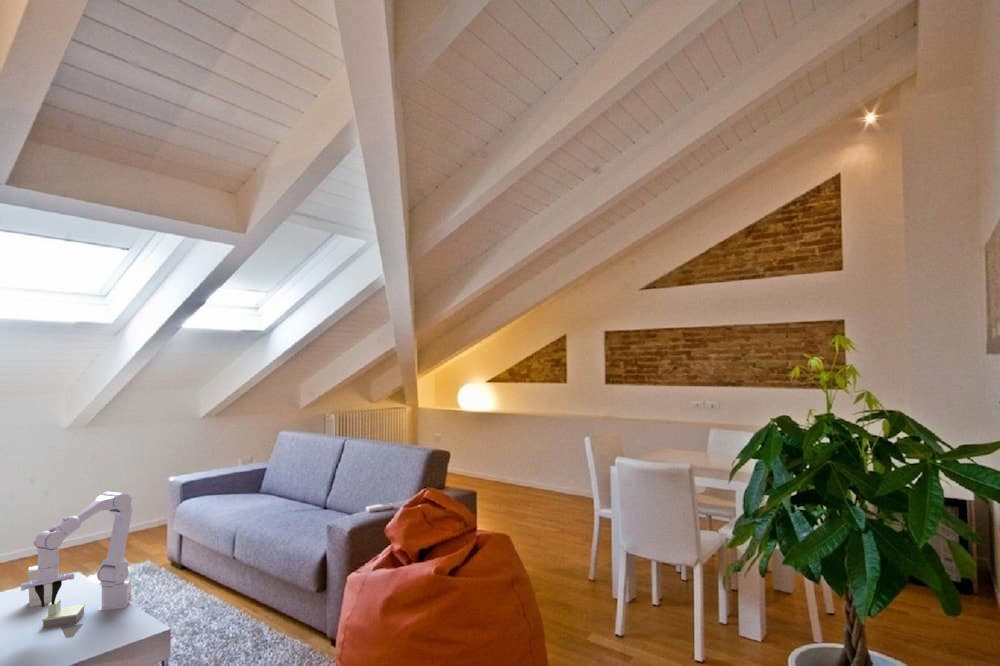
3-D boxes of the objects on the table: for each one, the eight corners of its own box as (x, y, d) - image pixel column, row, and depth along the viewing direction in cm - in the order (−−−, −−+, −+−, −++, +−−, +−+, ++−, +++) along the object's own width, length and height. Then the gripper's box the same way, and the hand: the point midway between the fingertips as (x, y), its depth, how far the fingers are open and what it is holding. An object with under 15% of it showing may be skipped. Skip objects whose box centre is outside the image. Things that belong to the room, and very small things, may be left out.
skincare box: (55, 597, 227) (55, 560, 228) (55, 603, 223) (55, 565, 223) (28, 604, 222) (28, 566, 222) (27, 609, 217) (28, 570, 218)
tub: (84, 614, 213) (84, 606, 213) (76, 624, 206) (76, 615, 206) (51, 618, 210) (52, 610, 210) (42, 629, 202) (43, 620, 202)
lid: (84, 607, 213) (84, 593, 213) (76, 617, 205) (76, 603, 206) (51, 612, 210) (51, 598, 210) (42, 622, 202) (42, 607, 202)
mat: (83, 624, 205) (83, 623, 205) (72, 638, 196) (72, 636, 196) (42, 630, 201) (42, 629, 201) (30, 644, 191) (30, 643, 191)
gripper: (72, 557, 206) (72, 594, 206) (21, 568, 197) (20, 607, 196) (74, 562, 201) (74, 601, 201) (21, 574, 191) (21, 614, 191)
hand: (47, 604), depth 198 cm, fingers closed
